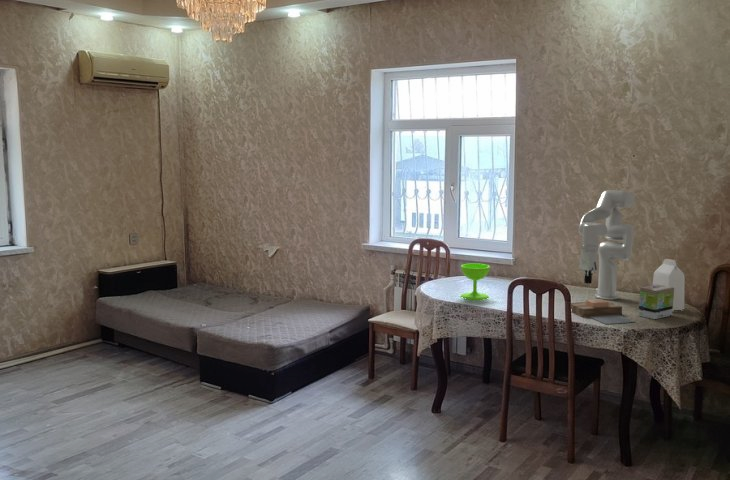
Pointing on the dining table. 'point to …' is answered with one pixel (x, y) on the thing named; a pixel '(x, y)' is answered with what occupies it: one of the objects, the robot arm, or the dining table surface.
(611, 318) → the mat
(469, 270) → the wineglass
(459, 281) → the dining table surface
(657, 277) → the milk
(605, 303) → the tile
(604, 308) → the brown flat block
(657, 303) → the tea box
